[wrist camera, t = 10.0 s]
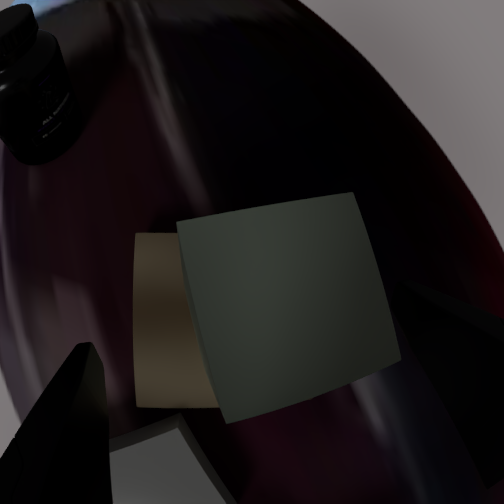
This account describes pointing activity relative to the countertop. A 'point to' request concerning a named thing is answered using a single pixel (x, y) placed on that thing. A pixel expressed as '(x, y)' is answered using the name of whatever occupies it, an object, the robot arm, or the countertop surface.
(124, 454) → the grey tile block
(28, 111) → the supplement bottle
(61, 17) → the countertop surface
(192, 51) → the countertop surface
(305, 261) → the sage block
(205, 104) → the countertop surface
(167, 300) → the oak block
